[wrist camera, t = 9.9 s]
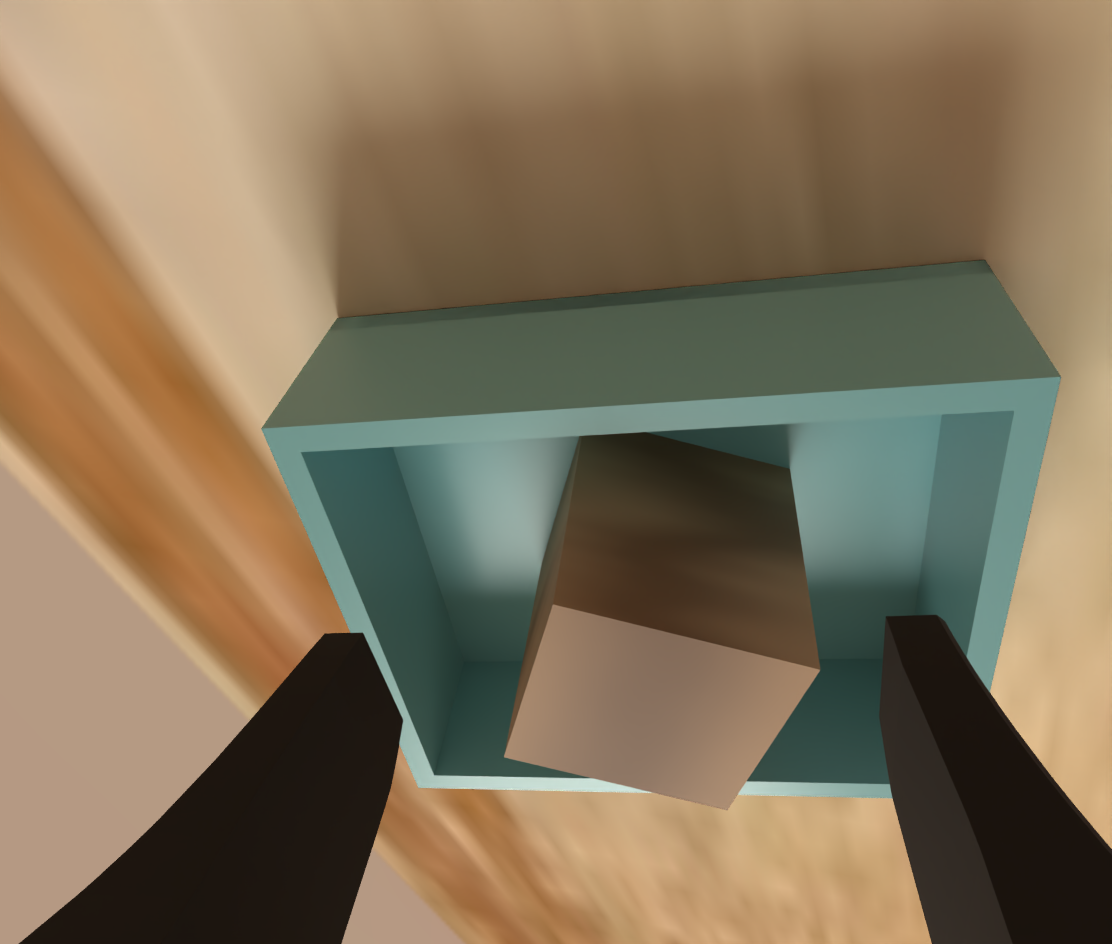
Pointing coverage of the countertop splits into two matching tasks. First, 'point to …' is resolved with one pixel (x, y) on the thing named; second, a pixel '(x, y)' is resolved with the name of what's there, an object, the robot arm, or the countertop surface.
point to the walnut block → (666, 620)
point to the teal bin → (689, 416)
